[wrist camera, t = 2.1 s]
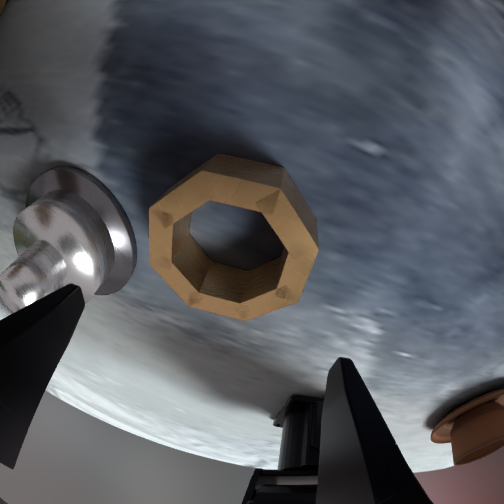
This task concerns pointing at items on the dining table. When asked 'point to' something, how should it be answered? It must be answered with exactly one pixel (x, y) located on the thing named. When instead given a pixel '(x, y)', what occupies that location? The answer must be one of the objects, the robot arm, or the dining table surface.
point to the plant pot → (2, 5)
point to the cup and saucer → (473, 428)
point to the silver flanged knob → (69, 240)
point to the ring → (221, 276)
